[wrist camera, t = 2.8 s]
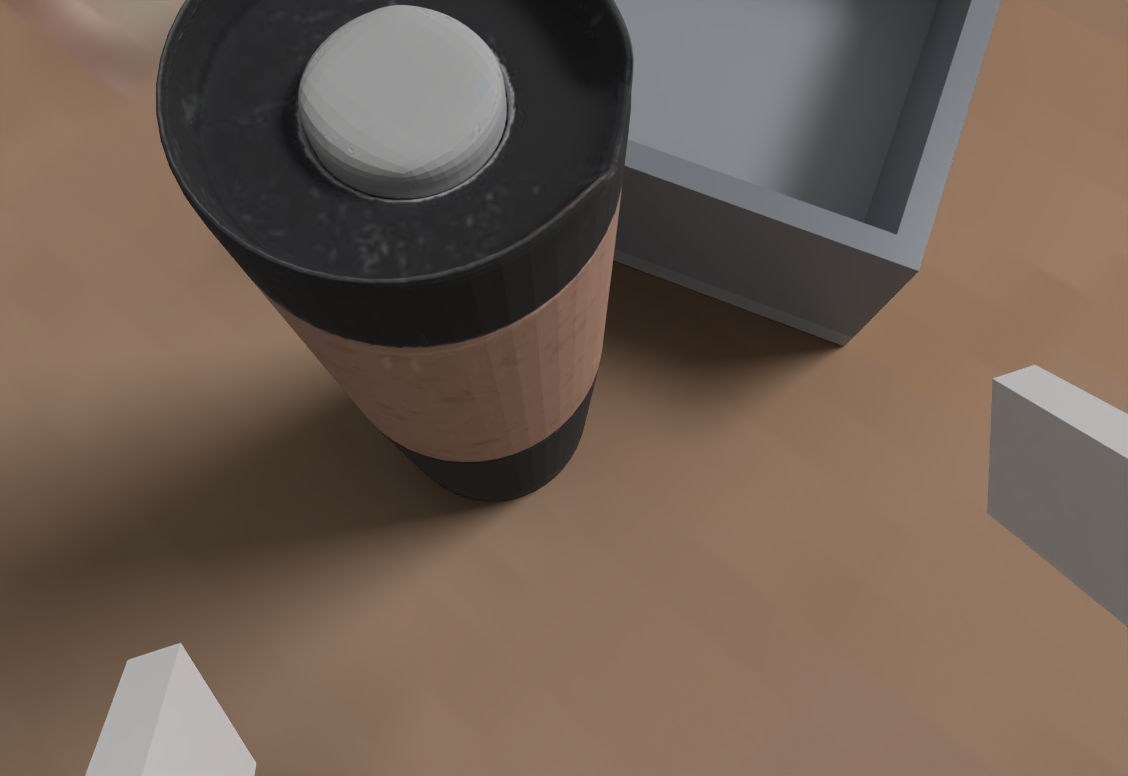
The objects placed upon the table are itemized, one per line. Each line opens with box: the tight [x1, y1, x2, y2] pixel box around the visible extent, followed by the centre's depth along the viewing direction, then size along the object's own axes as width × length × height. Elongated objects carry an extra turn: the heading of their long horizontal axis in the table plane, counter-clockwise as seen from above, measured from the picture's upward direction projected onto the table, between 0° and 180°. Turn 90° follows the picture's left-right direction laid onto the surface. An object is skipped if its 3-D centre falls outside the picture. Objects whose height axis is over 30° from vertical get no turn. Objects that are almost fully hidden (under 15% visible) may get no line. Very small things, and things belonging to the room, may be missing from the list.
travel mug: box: [156, 0, 634, 501], centre depth 22 cm, size 8×8×20 cm
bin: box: [613, 0, 1001, 346], centre depth 33 cm, size 20×20×7 cm
